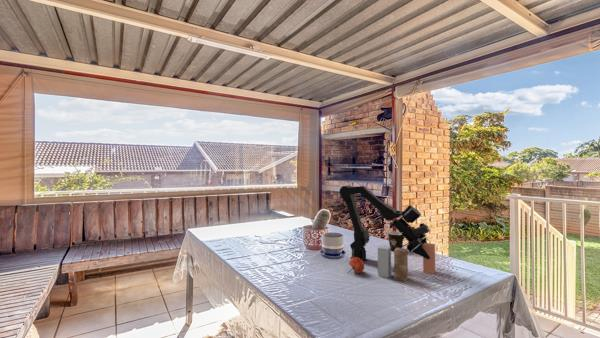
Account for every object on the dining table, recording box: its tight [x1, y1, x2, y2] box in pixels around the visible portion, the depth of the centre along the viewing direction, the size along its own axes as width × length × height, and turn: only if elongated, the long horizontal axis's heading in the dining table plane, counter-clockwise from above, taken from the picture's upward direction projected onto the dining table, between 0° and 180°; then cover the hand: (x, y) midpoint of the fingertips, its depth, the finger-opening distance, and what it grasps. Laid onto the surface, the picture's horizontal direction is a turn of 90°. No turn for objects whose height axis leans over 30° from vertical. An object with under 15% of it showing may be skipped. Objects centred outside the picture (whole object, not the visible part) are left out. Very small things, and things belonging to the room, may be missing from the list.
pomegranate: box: [347, 257, 365, 275], centre depth 127 cm, size 7×7×10 cm
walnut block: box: [393, 247, 409, 282], centre depth 120 cm, size 4×4×12 cm
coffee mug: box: [387, 231, 409, 253], centre depth 160 cm, size 12×9×10 cm
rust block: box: [422, 242, 436, 275], centre depth 127 cm, size 4×4×12 cm
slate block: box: [377, 244, 392, 279], centre depth 124 cm, size 4×4×12 cm
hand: (430, 256), depth 127 cm, fingers open, 9 cm apart
